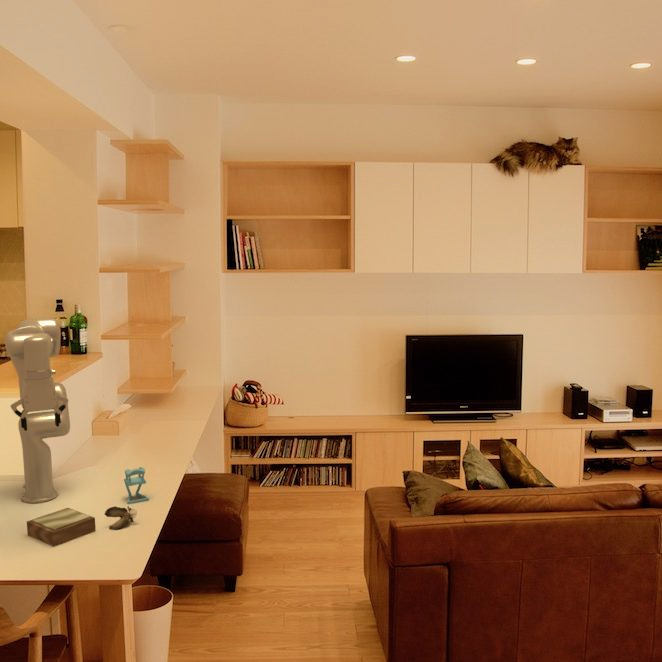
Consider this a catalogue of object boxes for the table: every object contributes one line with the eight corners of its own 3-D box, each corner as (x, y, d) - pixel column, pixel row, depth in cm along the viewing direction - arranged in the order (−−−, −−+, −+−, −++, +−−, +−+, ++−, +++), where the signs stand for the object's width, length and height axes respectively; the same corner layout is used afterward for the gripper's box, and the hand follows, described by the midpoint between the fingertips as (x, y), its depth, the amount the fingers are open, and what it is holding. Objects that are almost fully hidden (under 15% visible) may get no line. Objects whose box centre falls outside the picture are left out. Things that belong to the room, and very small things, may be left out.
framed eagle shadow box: (27, 534, 238) (26, 520, 237) (68, 520, 249) (68, 506, 249) (53, 546, 228) (53, 531, 228) (95, 530, 240) (94, 516, 240)
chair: (143, 493, 275) (142, 462, 273) (149, 500, 267) (147, 468, 266) (122, 497, 271) (120, 465, 270) (127, 504, 264) (126, 471, 262)
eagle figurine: (123, 514, 251) (100, 517, 244) (132, 499, 249) (109, 502, 242) (133, 531, 247) (110, 534, 240) (142, 515, 245) (120, 519, 238)
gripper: (64, 370, 242) (67, 422, 244) (7, 376, 234) (10, 429, 236) (68, 374, 236) (71, 426, 238) (10, 379, 227) (13, 434, 229)
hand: (41, 427), depth 237 cm, fingers open, 9 cm apart
